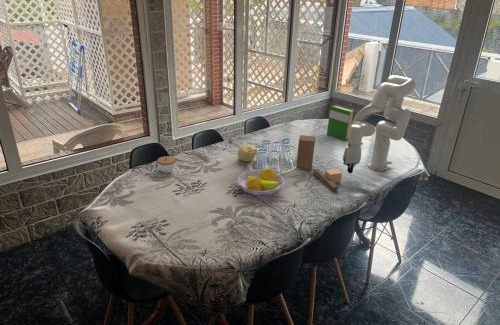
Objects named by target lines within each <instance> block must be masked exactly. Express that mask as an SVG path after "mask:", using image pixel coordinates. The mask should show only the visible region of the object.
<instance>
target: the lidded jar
mask: <svg viewBox="0 0 500 325" xmlns="http://www.w3.org/2000/svg"><path fill="white" fill-rule="evenodd" d="M156 163H157V167H158V170H159V171H160V172H161V173H163V174H170V173H172V172H173V171H174V169H175V168H176V159H175V157H174V156H166V155H165V156H161V157H158V158H157V160H156Z"/></svg>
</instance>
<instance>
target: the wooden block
mask: <svg viewBox="0 0 500 325" xmlns="http://www.w3.org/2000/svg"><path fill="white" fill-rule="evenodd" d="M315 145H316V137H315V136H313V135H312V136H311V135H306V134H305V135H303V134H301V135H299V138H298V146H297V153H296V154H297V155H296V163H295V164H296V165H295V167H296V169H301V170H309V171H311V170H312V169H313V162H314V155H315V154H314V152H315Z"/></svg>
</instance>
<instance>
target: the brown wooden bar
mask: <svg viewBox="0 0 500 325" xmlns="http://www.w3.org/2000/svg"><path fill="white" fill-rule="evenodd" d="M313 174H314V175H315V176H316V177H317V179H318V180H320V181H321V182H322V183H323V184H324V185H325V186H326V187H327V188H328V189H329V190H330V191H331V193H332V192H334V193H335V192H338V189H339V186H338V185H337V184H336V182H335V183H334V182H332V181H331V180H330V179H329V178H328V177H327V176H326V175H325V172H323V171H322V170H321V169H319V168H314V169H313Z"/></svg>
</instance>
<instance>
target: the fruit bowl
mask: <svg viewBox="0 0 500 325" xmlns="http://www.w3.org/2000/svg"><path fill="white" fill-rule="evenodd" d="M237 183H238V185H239V186H240V188H241V189H242V190H243V192H244V193H248V194H251V195H255V196H271V195H274V194H276V193H277V192H280V190H282V188H283V186H284V185H285V182H284V178H283V176H282V175H280V174H278V173H276V172H275V170H273V169H272V168H270V167H267V168H265V169H254V170H253V169H252V170H246V171H244V172H243V173H241V174H240V175H238V176H237Z"/></svg>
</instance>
